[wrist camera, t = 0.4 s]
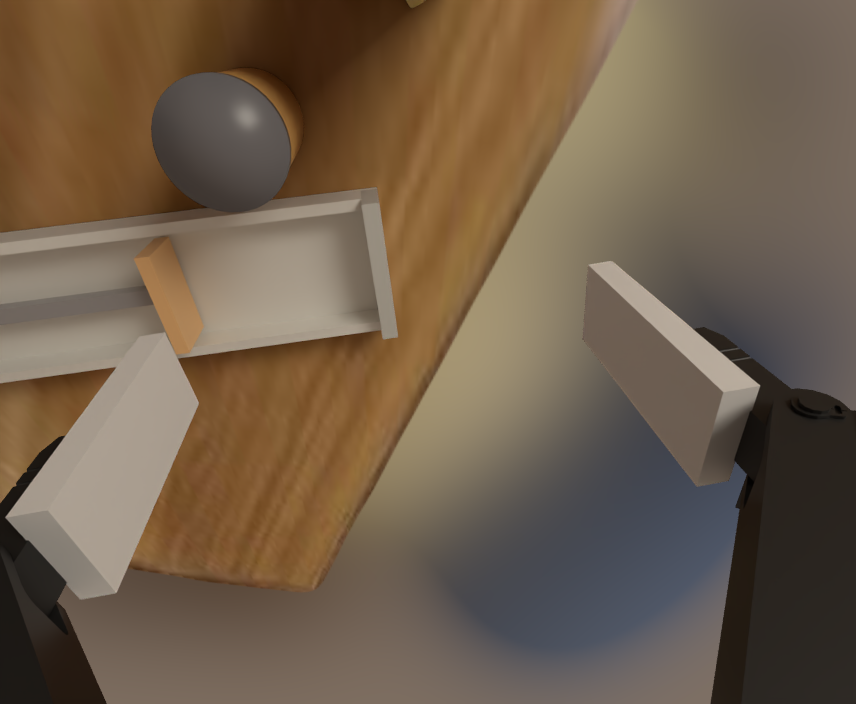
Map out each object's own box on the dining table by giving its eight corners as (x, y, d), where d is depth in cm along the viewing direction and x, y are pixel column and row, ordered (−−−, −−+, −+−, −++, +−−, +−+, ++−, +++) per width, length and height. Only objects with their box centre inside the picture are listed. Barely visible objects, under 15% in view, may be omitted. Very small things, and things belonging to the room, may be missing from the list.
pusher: (-190, 281, 34) (-250, 307, 30) (168, 236, 35) (149, 256, 32) (-114, 369, 38) (-160, 401, 35) (203, 326, 39) (189, 352, 36)
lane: (-196, 256, 34) (-283, 290, 29) (376, 187, 36) (379, 208, 31) (-93, 379, 39) (-153, 423, 35) (394, 312, 42) (399, 345, 37)
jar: (188, 71, 31) (128, 80, 23) (293, 60, 31) (270, 65, 23) (221, 178, 34) (180, 219, 26) (314, 167, 35) (302, 204, 27)
